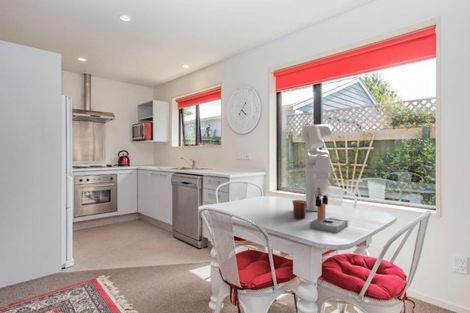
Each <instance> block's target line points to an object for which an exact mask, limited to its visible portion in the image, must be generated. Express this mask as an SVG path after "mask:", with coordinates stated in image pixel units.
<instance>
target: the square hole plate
mask: <svg viewBox="0 0 470 313" xmlns="http://www.w3.org/2000/svg"><path fill="white" fill-rule="evenodd" d="M309 227H310V229H316V230H320V231H324V232H329V233H331V232H332V233H336V234H337V233H339V232H340V231H342V230H343V229H345V228H347V227H346V221H340V220H334V219H328V218H326V217H325V218H321V217H320V218H318V219H317V218H316V219H314V220H312V221H310V223H309Z"/></svg>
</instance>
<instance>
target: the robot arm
mask: <svg viewBox="0 0 470 313" xmlns="http://www.w3.org/2000/svg"><path fill="white" fill-rule="evenodd" d="M301 134H302V138H303V142H304V144H305V150H304V163H305V167H304V175H305V176H304V177H305V178H304V179H305V201H307V207H306V211H308V212H309V211H310V212H318V207H321V203H322V204H326V206H327V205H328V204H329V203H328V202H329V200H328V199H329V179H330V177H331V175H332V169H331V155H330V152H329V151H328V150H327V149H321V148H322V147H323V146H324V145H325V141H324V138H330V137H331V136H332V127H331V125H329V124H307V125H304V126H302V129H301Z"/></svg>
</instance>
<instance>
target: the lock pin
mask: <svg viewBox="0 0 470 313" xmlns="http://www.w3.org/2000/svg"><path fill="white" fill-rule="evenodd" d="M326 206H327V205H326V204H322V202H321V207H318V211H317V214H316V215H317V218H316V219H318V218H320V217H321V218H326Z"/></svg>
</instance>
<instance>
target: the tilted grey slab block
mask: <svg viewBox="0 0 470 313" xmlns="http://www.w3.org/2000/svg"><path fill="white" fill-rule="evenodd" d="M327 219H334V220H340V221H346V227H345V228H347V227H348V226H349V219H346V218H341V217H335V216H333V217H332V216H330V217H328V218H327Z"/></svg>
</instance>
